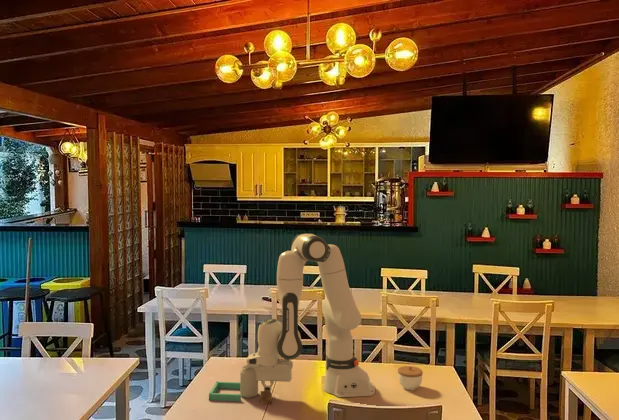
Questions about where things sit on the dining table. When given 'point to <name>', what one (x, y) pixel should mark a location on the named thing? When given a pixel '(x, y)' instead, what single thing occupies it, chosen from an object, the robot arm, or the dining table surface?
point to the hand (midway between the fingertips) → (267, 390)
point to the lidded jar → (410, 377)
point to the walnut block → (265, 397)
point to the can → (248, 383)
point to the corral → (225, 397)
